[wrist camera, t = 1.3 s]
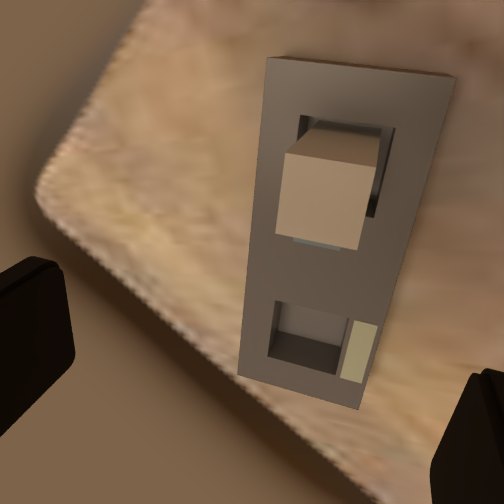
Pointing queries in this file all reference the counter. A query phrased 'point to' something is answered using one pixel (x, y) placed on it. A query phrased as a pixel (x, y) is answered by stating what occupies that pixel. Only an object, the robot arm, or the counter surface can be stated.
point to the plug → (328, 185)
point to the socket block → (346, 260)
